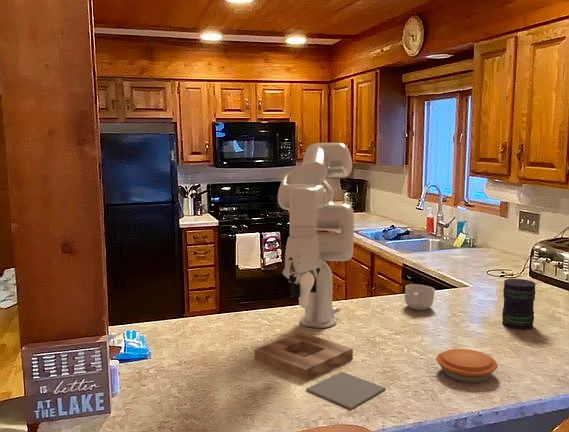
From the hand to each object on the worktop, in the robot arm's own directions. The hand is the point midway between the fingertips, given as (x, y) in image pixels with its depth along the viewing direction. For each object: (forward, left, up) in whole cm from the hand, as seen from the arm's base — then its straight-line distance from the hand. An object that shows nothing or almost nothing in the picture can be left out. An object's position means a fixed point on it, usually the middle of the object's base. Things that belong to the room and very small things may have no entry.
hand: (303, 293), depth 149 cm
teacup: (-64, -1, -20) cm, 67 cm away
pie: (-23, +38, -20) cm, 48 cm away
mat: (+7, +21, -19) cm, 29 cm away
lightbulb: (0, 0, -4) cm, 4 cm away
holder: (0, 0, -19) cm, 19 cm away
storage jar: (-71, +33, -20) cm, 81 cm away
